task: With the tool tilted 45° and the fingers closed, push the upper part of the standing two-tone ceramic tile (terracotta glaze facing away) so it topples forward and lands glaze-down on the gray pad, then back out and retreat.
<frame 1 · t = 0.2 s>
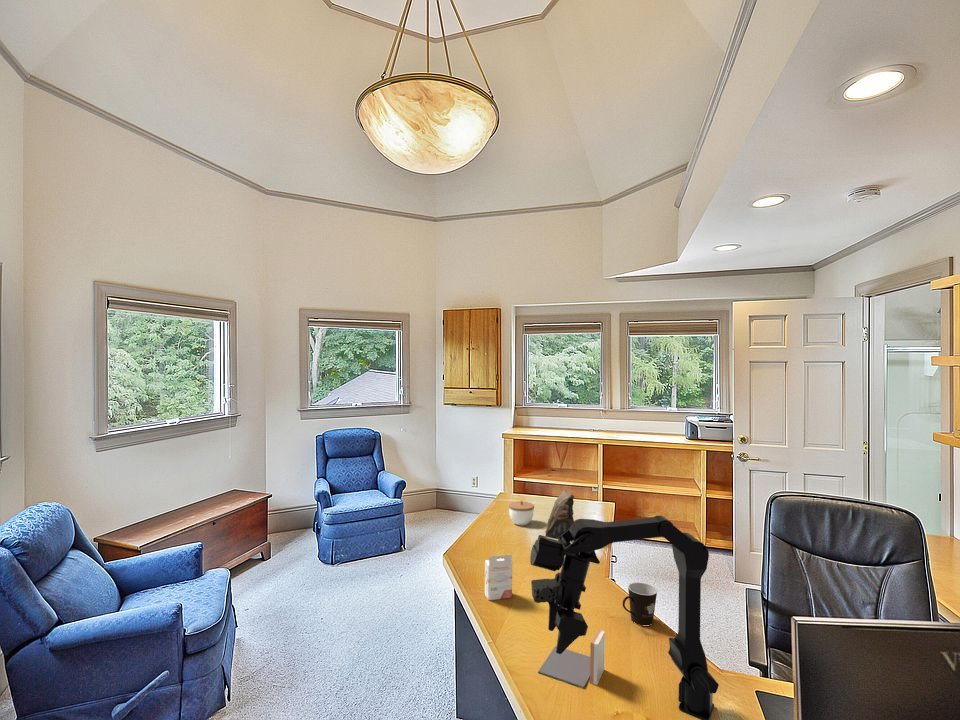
hand: (554, 641, 112), 16 cm above the table, tool pointing down, fingers open, 9 cm apart
ink cartridge box: (497, 596, 166), on the table
brown rock: (558, 536, 226), on the table
gray pad: (568, 666, 128), on the table
coffee mug: (637, 621, 152), on the table
lidded bowl: (521, 523, 243), on the table
tile: (597, 676, 124), on the table
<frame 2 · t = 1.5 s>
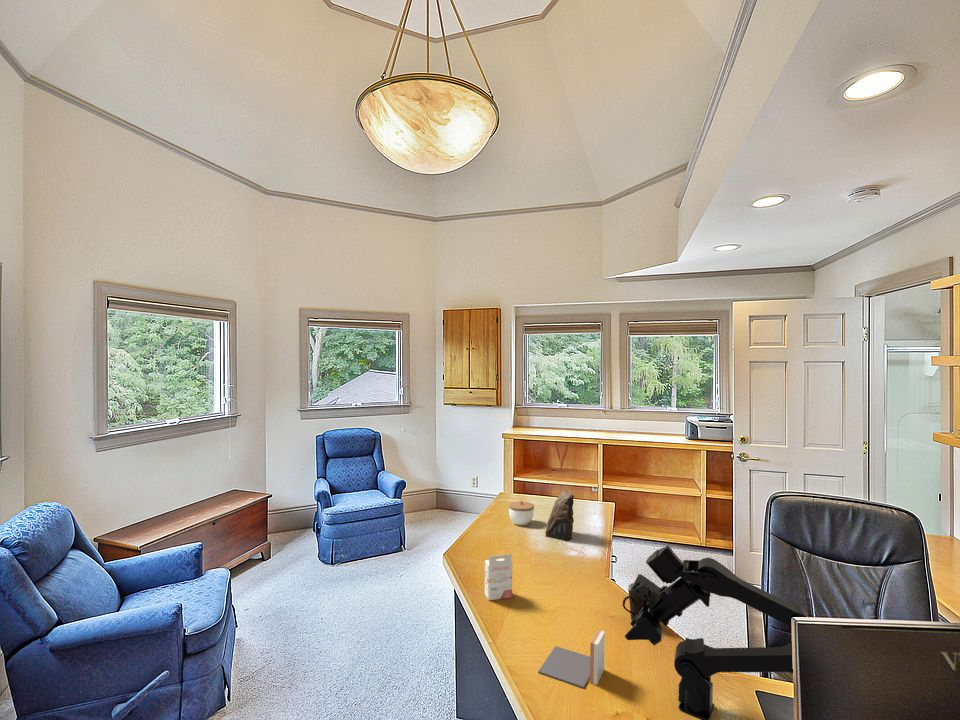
hand: (628, 631, 121), 14 cm above the table, tool tilted 45°, fingers open, 6 cm apart
nothing on the table moved.
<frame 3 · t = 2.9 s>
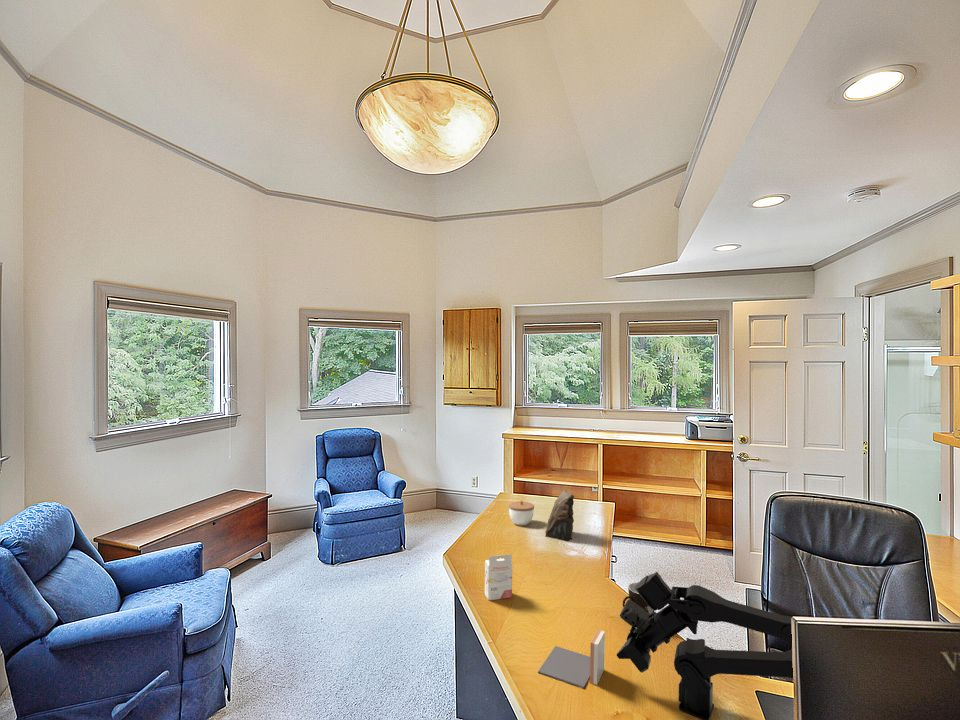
hand: (617, 656, 122), 7 cm above the table, tool tilted 45°, fingers closed
nothing on the table moved.
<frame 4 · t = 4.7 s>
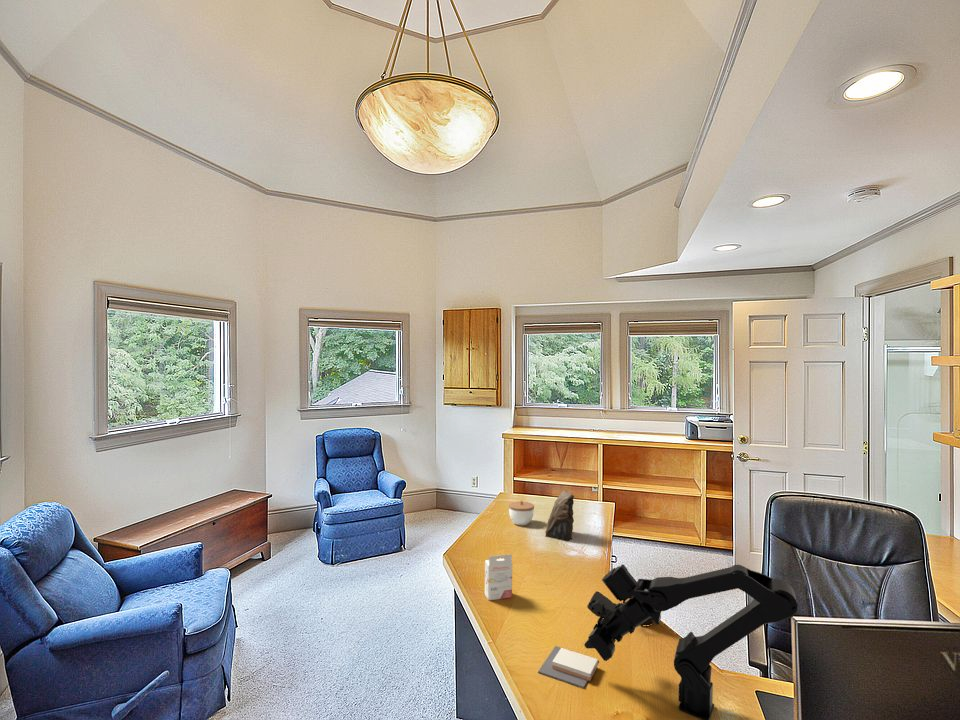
hand: (585, 646, 126), 7 cm above the table, tool tilted 45°, fingers closed
tile: (594, 669, 125), point 1 cm above the table, tilted 90°, touching gray pad
everything else where it was.
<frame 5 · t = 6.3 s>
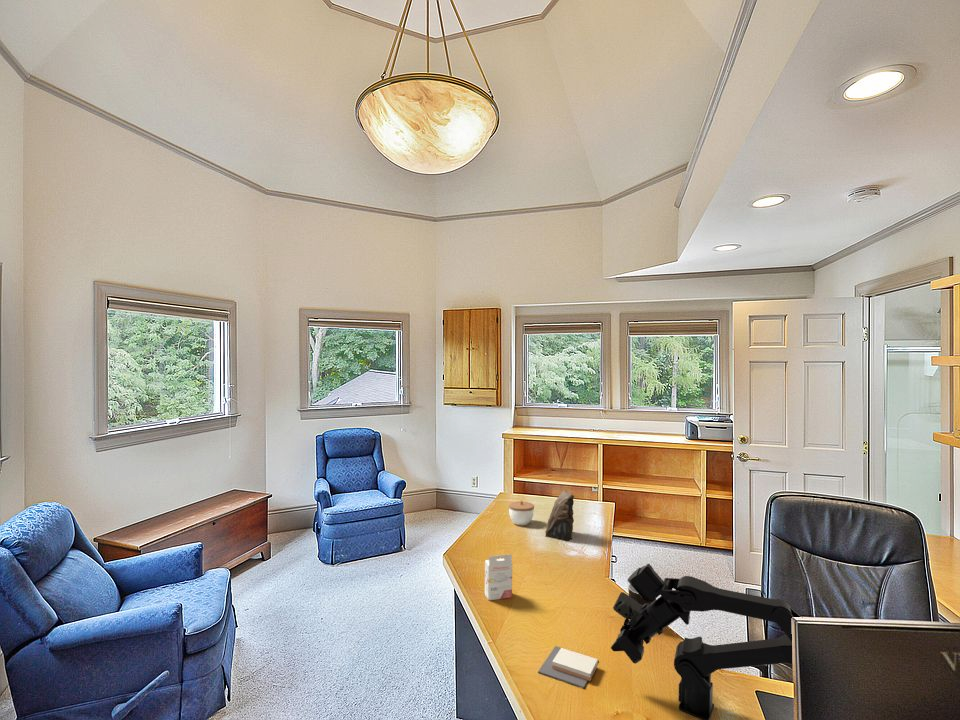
hand: (612, 648, 123), 8 cm above the table, tool tilted 45°, fingers closed
nothing on the table moved.
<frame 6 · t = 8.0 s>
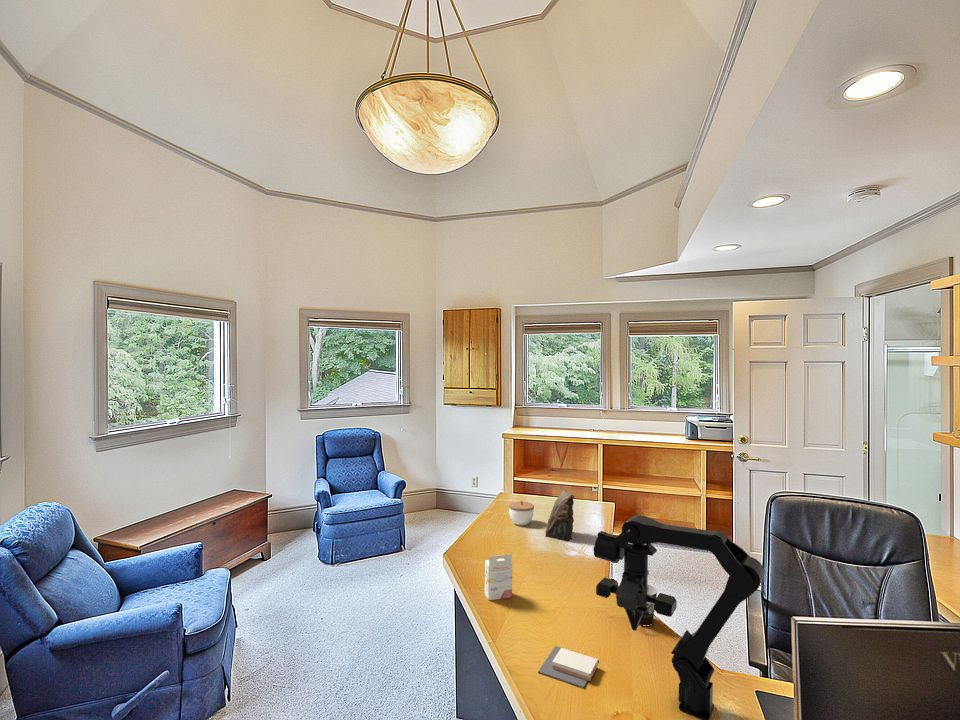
hand: (634, 629, 122), 13 cm above the table, tool pointing down, fingers closed
nothing on the table moved.
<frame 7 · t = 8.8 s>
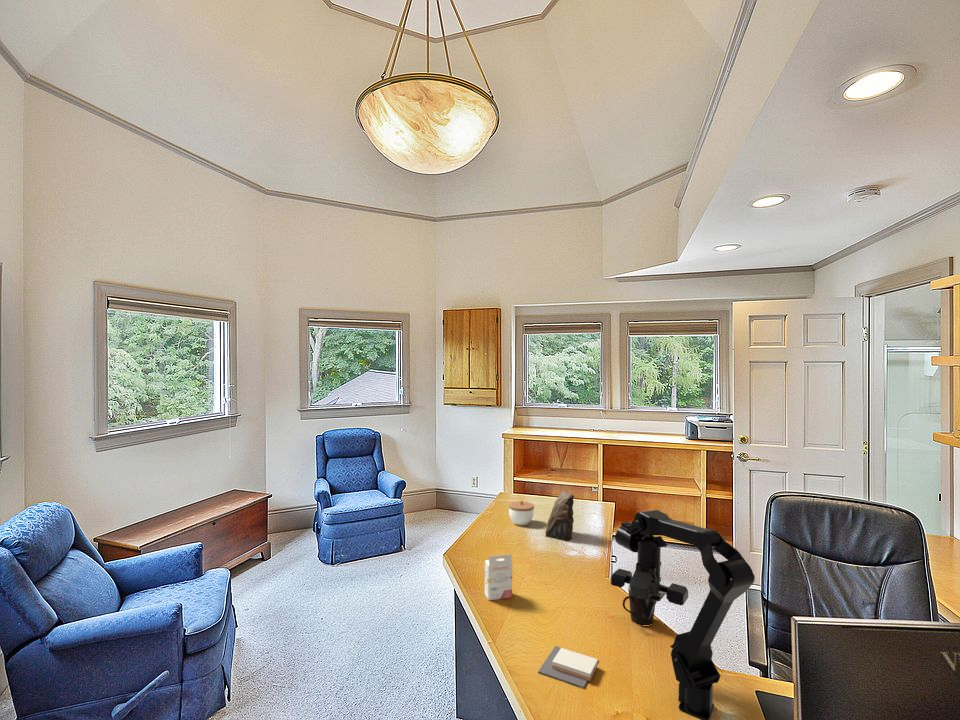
hand: (647, 618, 128), 13 cm above the table, tool pointing down, fingers closed
nothing on the table moved.
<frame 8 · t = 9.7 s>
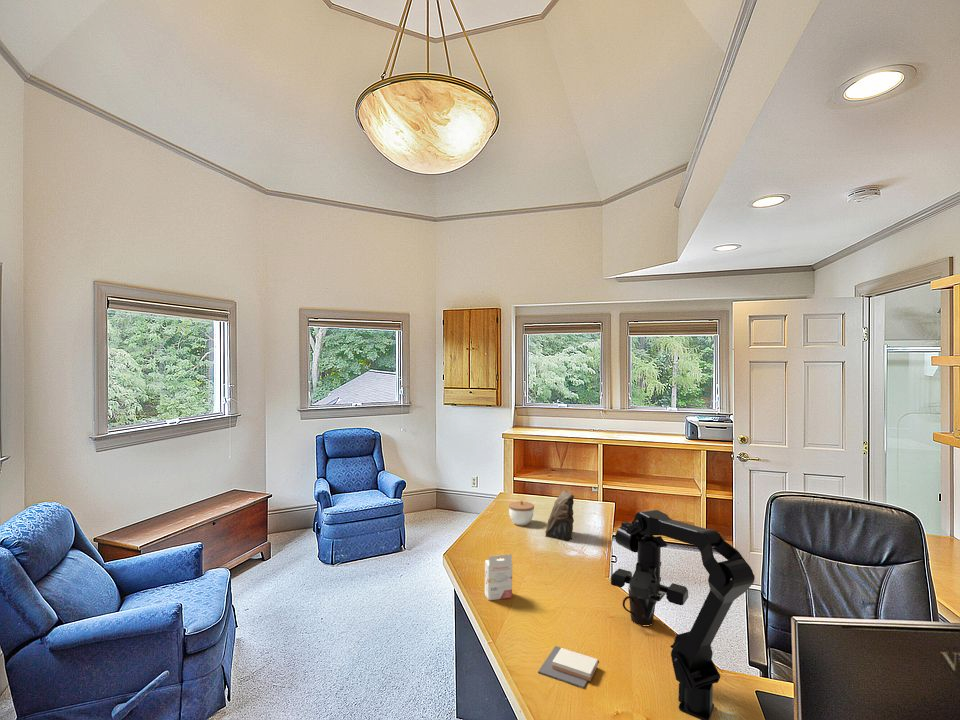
hand: (647, 618, 128), 13 cm above the table, tool pointing down, fingers closed
nothing on the table moved.
at the end: tile tilted 90°; tile inside the target area (5.2 cm from its centre), point 1.3 cm above the table; the gripper is holding nothing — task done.
